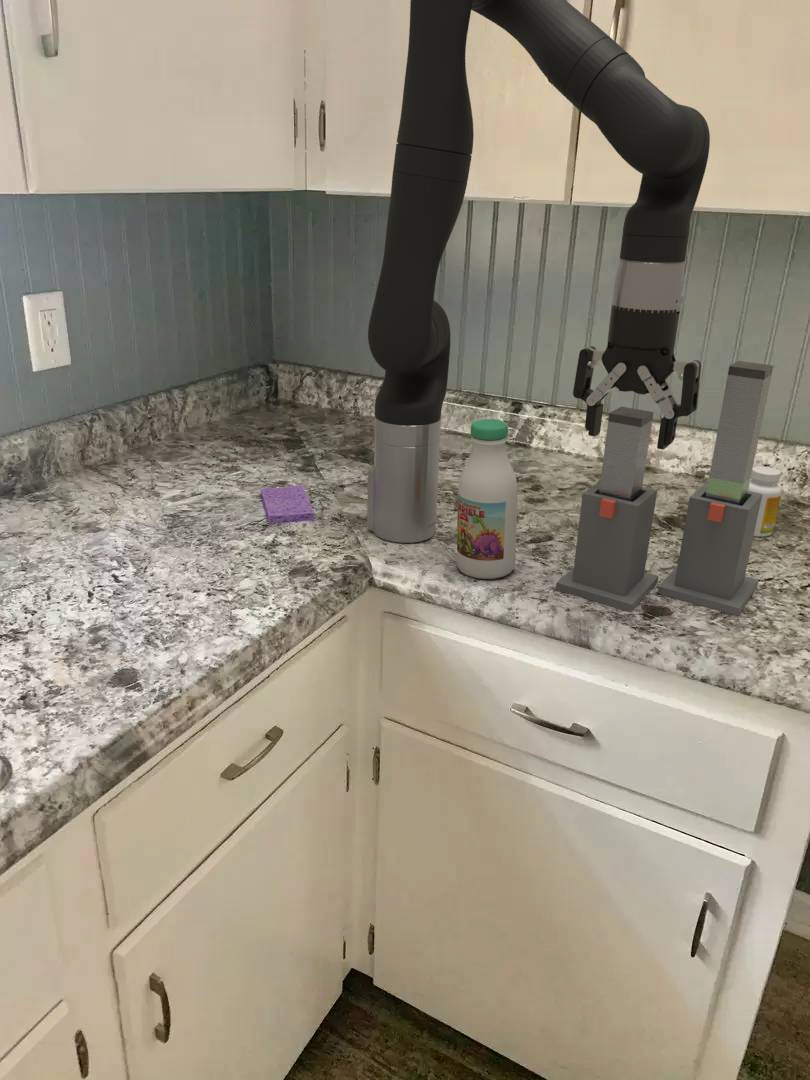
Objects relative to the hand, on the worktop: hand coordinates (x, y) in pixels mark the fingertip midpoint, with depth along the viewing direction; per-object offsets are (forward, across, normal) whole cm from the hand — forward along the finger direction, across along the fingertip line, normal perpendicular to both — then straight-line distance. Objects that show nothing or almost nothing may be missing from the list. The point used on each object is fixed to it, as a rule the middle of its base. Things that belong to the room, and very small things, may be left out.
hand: (627, 441), depth 101 cm
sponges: (+20, -51, -4) cm, 55 cm away
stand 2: (+20, +11, +7) cm, 23 cm away
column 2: (+12, +11, +7) cm, 18 cm away
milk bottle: (+19, -15, -5) cm, 25 cm away
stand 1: (+20, 0, 0) cm, 20 cm away
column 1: (+18, 0, 0) cm, 18 cm away
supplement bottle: (+20, +11, +32) cm, 39 cm away
